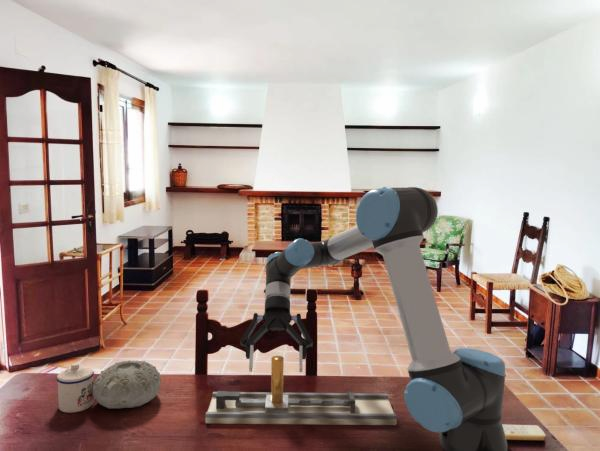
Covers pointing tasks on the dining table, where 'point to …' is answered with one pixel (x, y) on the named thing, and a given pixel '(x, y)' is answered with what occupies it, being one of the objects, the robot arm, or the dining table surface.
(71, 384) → the teacup with lid
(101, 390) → the grey rounded lump
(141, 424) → the dining table surface
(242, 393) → the rail
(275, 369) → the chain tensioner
